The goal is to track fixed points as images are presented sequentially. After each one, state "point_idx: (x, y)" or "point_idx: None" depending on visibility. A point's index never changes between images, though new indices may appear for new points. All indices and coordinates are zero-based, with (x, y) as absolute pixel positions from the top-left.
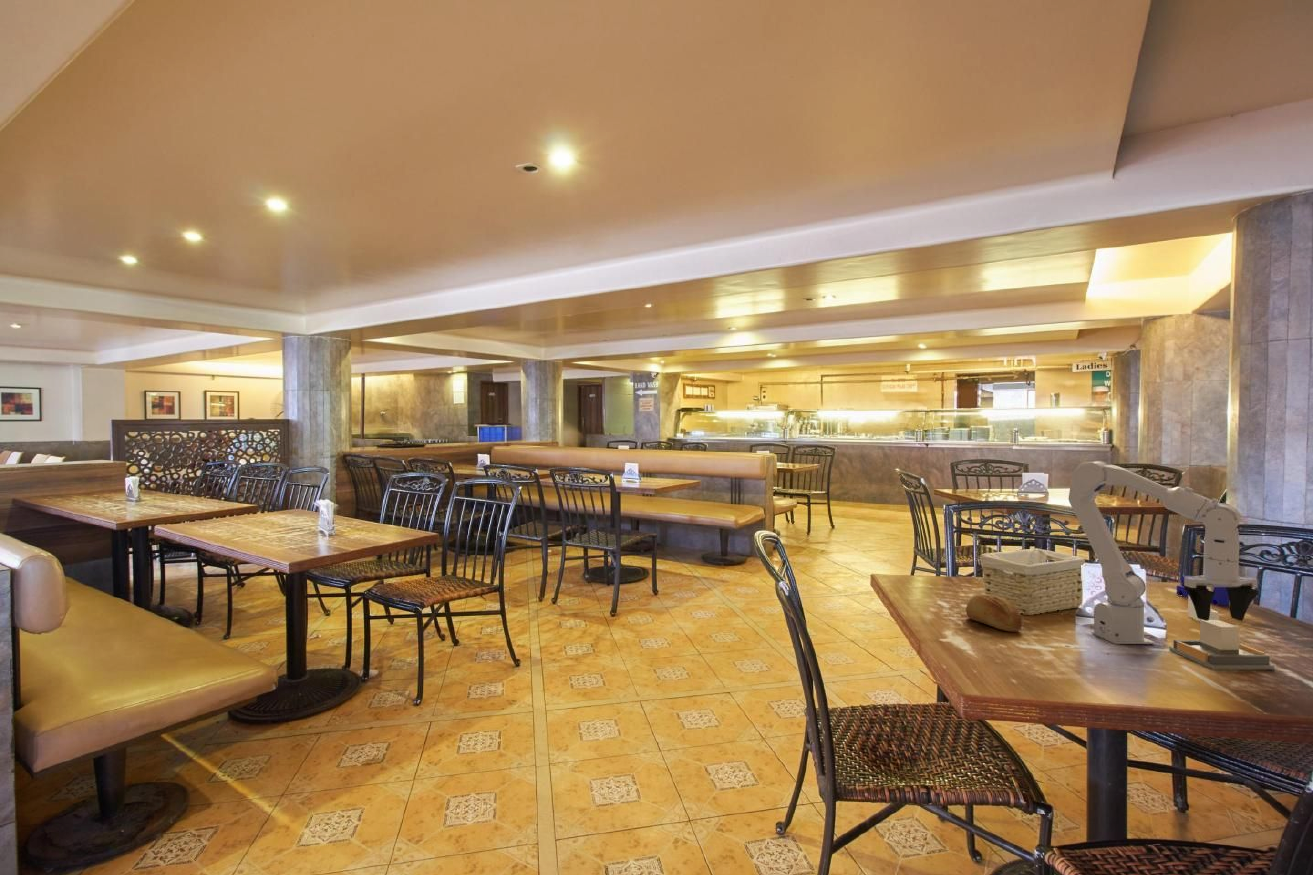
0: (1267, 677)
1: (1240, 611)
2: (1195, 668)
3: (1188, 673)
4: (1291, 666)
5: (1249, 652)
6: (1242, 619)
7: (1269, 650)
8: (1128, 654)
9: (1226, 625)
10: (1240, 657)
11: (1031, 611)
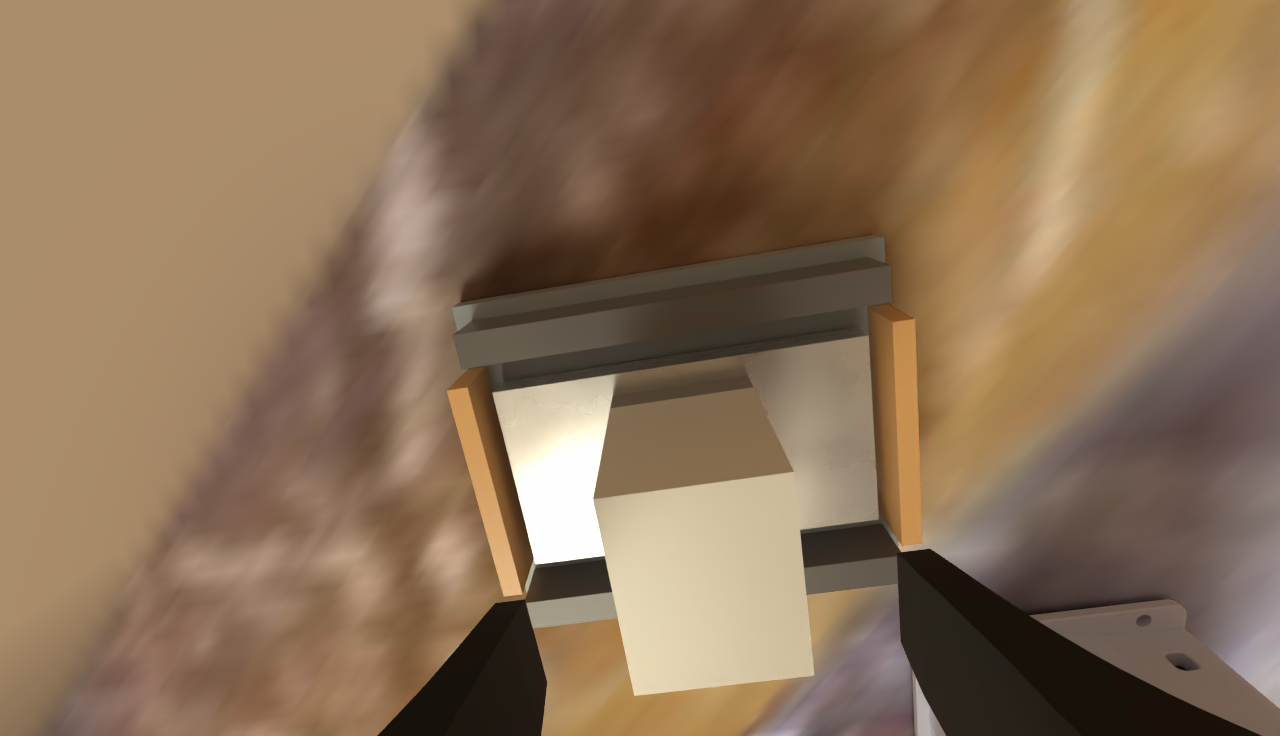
0: (610, 135)
1: (494, 683)
2: (986, 235)
3: (1124, 122)
4: (316, 373)
5: (510, 442)
6: (495, 609)
7: (277, 618)
8: (1238, 436)
9: (687, 535)
10: (676, 296)
11: None
